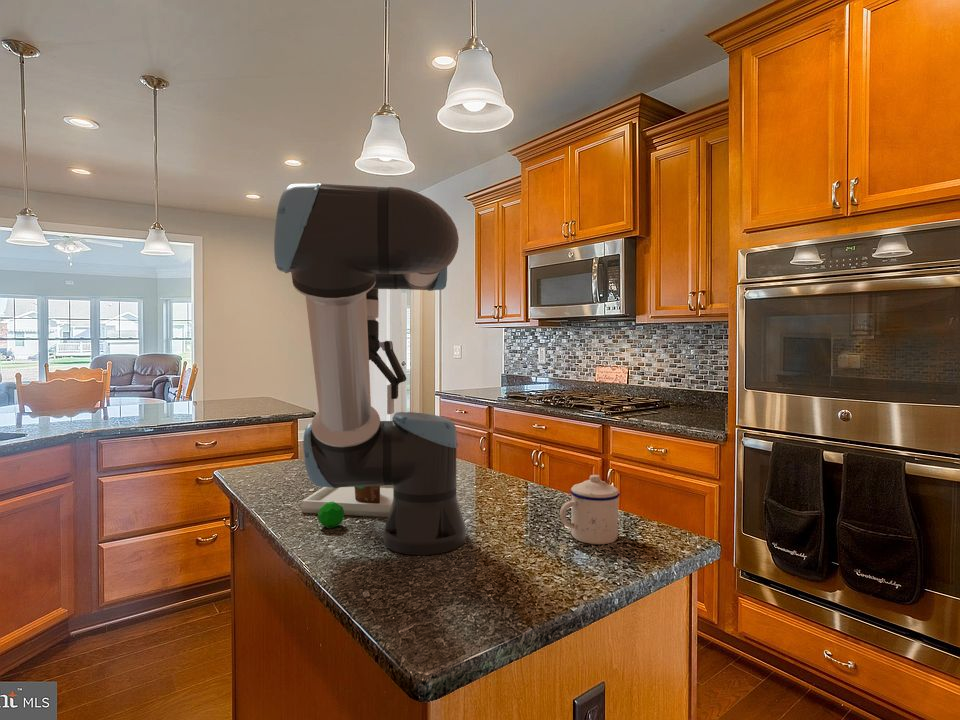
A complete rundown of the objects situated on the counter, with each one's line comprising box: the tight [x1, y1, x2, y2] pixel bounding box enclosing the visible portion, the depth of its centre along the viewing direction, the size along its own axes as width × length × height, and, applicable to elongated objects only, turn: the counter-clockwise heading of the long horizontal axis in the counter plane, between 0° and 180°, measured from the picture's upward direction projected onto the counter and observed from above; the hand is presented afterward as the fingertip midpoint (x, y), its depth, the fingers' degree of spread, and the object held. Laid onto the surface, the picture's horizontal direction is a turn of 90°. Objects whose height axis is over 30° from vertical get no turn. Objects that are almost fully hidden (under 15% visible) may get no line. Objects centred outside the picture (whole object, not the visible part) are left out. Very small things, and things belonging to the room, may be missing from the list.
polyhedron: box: [317, 502, 345, 529], centre depth 106 cm, size 5×5×5 cm
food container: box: [355, 486, 380, 504], centre depth 122 cm, size 12×6×10 cm, turn 17°
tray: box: [301, 485, 393, 518], centre depth 123 cm, size 20×20×2 cm
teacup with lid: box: [559, 474, 620, 545], centre depth 101 cm, size 12×9×12 cm
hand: (361, 413), depth 122 cm, fingers open, 13 cm apart
